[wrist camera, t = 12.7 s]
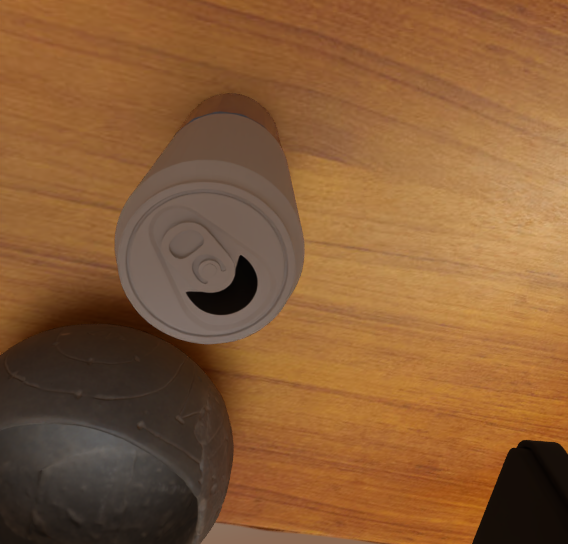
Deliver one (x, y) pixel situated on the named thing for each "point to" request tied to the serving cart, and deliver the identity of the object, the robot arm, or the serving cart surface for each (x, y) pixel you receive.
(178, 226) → the beverage can
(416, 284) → the serving cart surface
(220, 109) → the cup
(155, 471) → the bowl
